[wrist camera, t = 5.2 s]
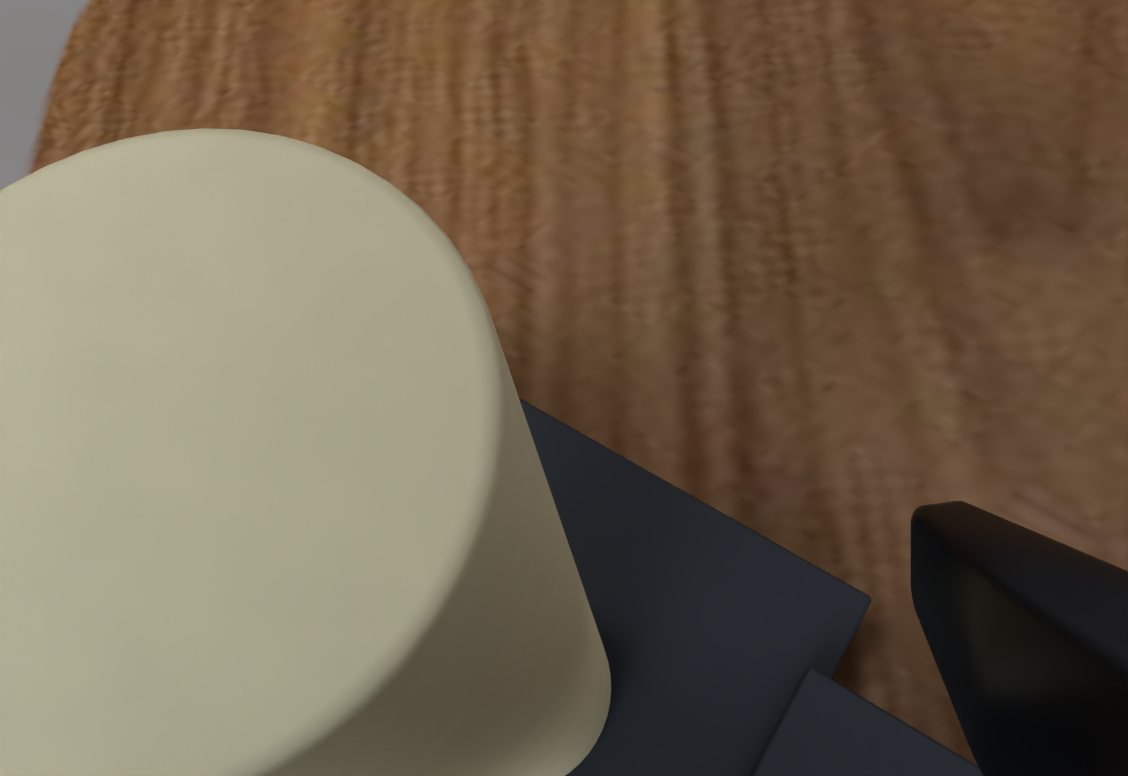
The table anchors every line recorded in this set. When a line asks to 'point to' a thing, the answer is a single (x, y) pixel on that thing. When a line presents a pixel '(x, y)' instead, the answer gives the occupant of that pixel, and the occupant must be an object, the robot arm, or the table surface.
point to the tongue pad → (355, 512)
